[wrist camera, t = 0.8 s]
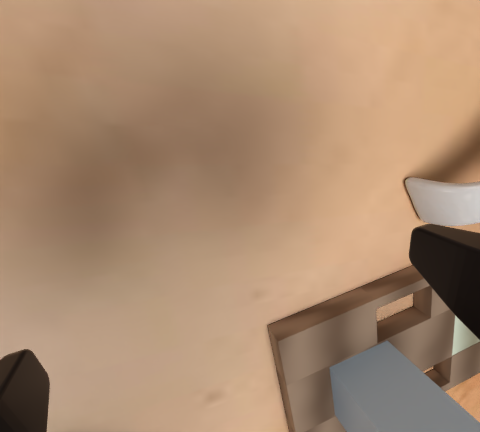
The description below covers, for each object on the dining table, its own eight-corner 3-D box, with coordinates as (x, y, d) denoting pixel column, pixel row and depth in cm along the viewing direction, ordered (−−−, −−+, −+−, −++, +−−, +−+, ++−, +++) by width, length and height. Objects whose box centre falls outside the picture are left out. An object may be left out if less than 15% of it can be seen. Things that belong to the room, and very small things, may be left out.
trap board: (292, 448, 33) (333, 530, 26) (267, 325, 26) (312, 394, 20) (473, 354, 38) (542, 403, 32) (487, 234, 32) (575, 266, 26)
